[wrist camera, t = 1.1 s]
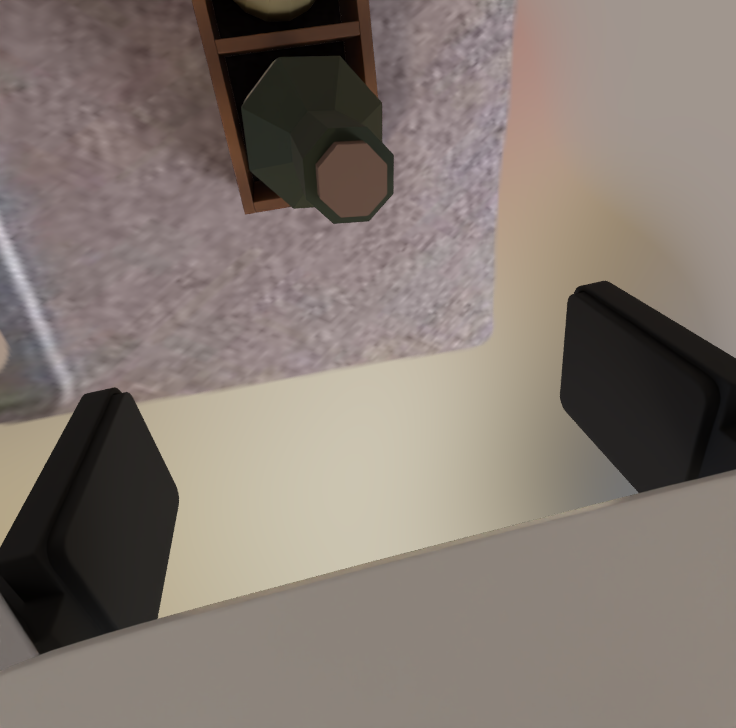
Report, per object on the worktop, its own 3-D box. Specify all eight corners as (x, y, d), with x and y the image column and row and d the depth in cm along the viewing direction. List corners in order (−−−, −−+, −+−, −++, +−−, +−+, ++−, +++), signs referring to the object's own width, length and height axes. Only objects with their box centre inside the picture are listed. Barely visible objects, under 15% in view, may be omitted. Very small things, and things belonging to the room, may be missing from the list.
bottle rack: (168, -136, 33) (144, -189, 26) (331, -152, 34) (349, -207, 27) (247, 192, 44) (244, 214, 38) (368, 172, 45) (386, 190, 39)
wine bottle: (260, 38, 39) (264, -24, 13) (358, 82, 42) (514, 99, 16) (235, 146, 42) (198, 260, 17) (326, 180, 45) (414, 321, 20)
